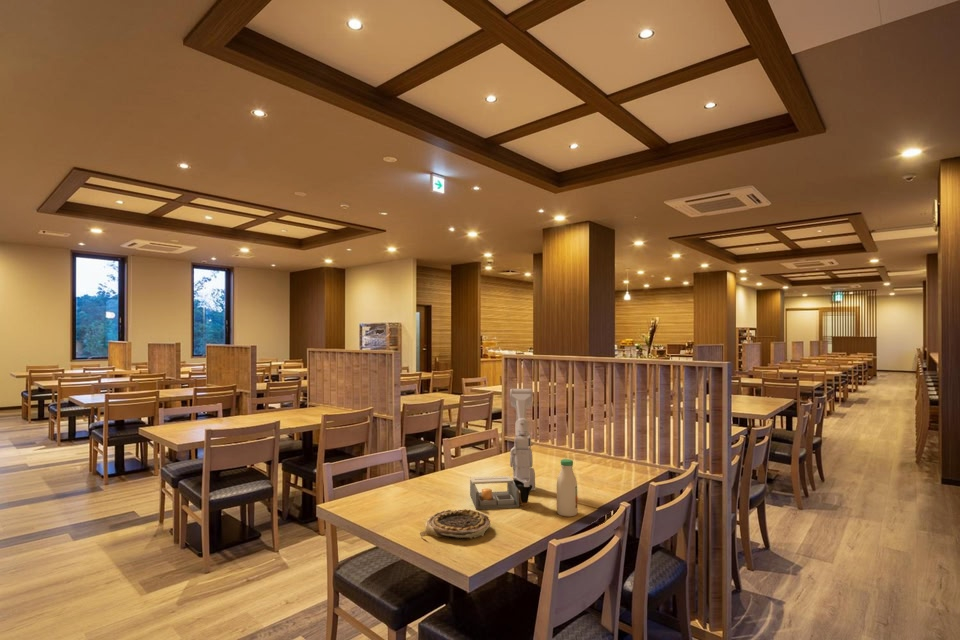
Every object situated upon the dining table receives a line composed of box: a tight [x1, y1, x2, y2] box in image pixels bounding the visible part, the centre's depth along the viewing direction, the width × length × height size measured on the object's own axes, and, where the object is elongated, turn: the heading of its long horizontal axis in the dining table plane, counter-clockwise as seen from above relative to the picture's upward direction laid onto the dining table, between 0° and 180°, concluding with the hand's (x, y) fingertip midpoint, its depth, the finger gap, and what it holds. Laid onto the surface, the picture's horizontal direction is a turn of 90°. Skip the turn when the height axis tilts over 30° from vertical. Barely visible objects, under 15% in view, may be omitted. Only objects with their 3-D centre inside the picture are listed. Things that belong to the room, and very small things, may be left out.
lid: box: [469, 475, 513, 485], centre depth 209 cm, size 17×7×1 cm, turn 98°
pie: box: [419, 509, 491, 543], centre depth 172 cm, size 28×27×5 cm
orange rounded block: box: [519, 490, 529, 506], centre depth 200 cm, size 4×4×5 cm
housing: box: [469, 479, 520, 511], centre depth 203 cm, size 17×18×7 cm
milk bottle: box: [556, 458, 578, 517], centre depth 189 cm, size 8×8×20 cm
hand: (522, 500), depth 200 cm, fingers open, 6 cm apart
